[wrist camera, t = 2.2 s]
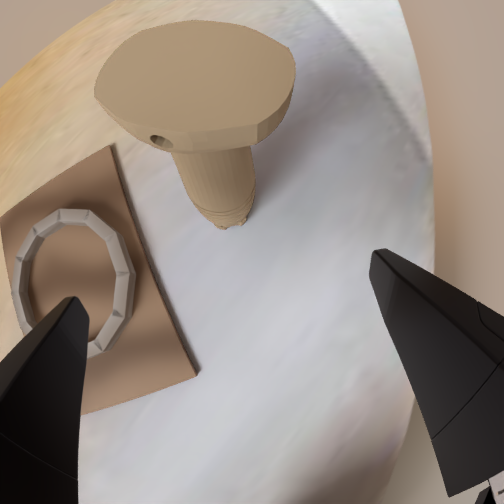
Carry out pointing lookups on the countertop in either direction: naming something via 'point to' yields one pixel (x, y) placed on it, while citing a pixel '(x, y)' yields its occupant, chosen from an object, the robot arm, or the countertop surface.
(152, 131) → the handle
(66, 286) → the socket board
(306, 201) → the countertop surface
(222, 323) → the countertop surface
